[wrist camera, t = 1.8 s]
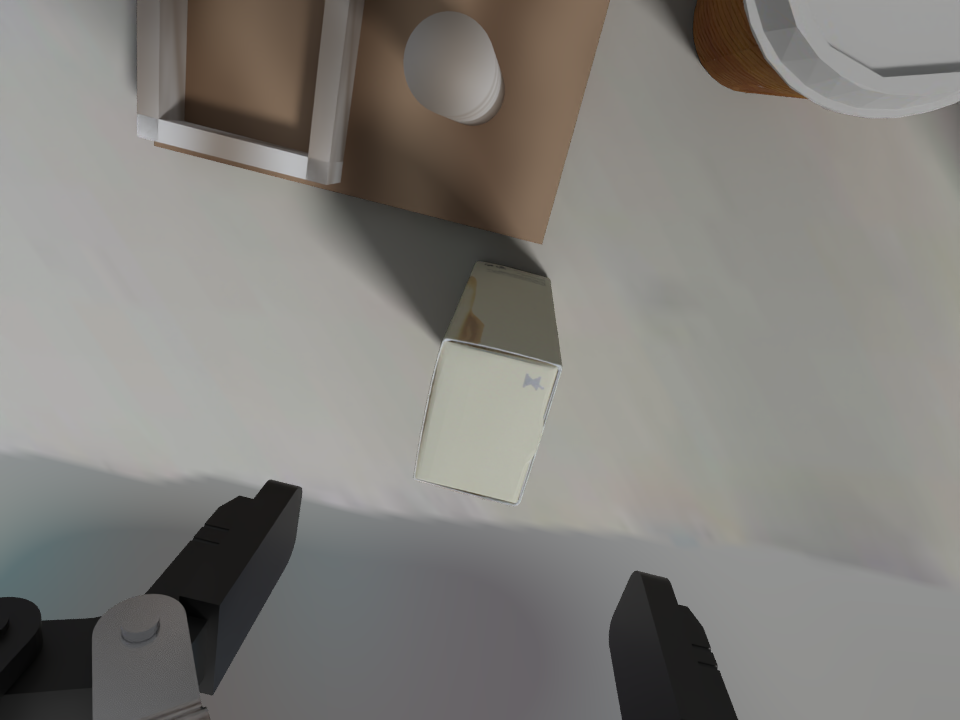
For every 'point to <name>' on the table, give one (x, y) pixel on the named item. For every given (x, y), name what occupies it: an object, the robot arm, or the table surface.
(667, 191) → the table surface
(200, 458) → the table surface
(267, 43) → the pin board
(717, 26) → the disposable coffee cup
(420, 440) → the skincare box
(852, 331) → the table surface
